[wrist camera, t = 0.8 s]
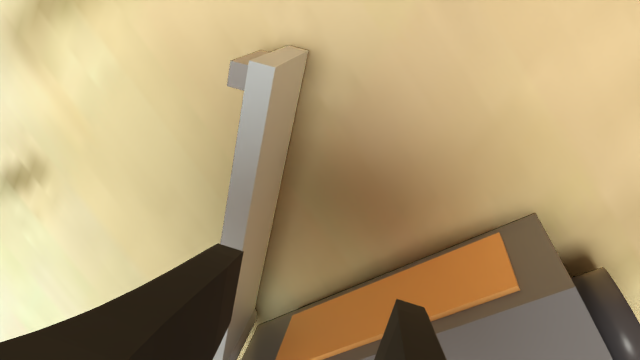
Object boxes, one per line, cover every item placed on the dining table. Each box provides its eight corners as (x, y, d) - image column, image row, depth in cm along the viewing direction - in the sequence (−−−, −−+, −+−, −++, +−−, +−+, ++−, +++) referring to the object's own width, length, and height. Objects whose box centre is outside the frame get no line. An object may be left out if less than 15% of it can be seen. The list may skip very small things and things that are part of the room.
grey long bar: (255, 326, 23) (220, 397, 19) (221, 315, 23) (179, 383, 19) (313, 51, 17) (282, 69, 13) (268, 39, 17) (223, 53, 13)
